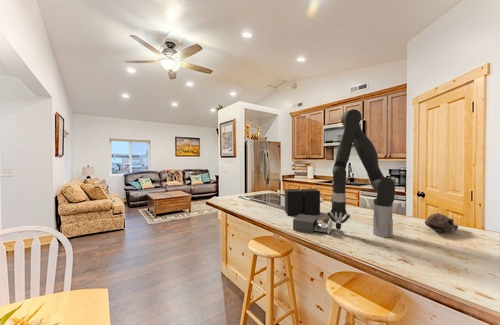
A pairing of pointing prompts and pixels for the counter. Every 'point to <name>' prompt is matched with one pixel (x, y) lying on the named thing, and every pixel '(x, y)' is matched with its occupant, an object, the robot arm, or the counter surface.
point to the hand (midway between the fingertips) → (338, 229)
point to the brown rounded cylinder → (325, 220)
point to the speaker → (302, 201)
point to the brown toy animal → (440, 222)
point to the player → (305, 223)
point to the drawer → (326, 229)
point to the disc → (323, 226)
